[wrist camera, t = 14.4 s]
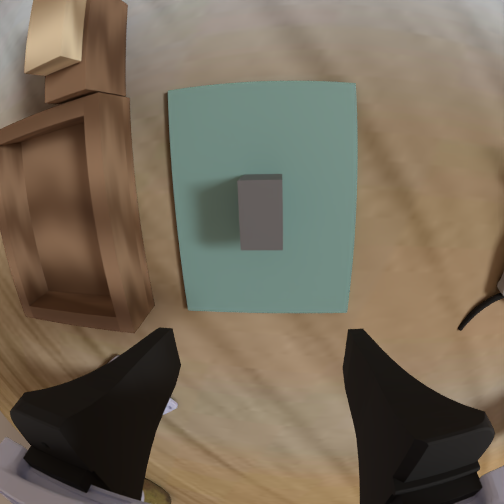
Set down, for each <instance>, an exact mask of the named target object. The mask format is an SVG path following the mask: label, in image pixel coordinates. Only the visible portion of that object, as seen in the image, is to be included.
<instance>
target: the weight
mask: <svg viewBox="0 0 504 504" xmlns="http://www.w3.org/2000/svg"><path fill="white" fill-rule="evenodd" d="M143 492H144V502H147V503H151V504H171V498H170V496H169V494H168V493H166V491H165V490H163V489H162V488H161V487H159V486H157V485H156V484H154V483H153V482H151V481H149V480H147V479H144V484H143Z"/></svg>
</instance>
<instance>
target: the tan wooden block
mask: <svg viewBox="0 0 504 504" xmlns="http://www.w3.org/2000/svg"><path fill="white" fill-rule="evenodd" d="M85 8H86V0H33V5H32V11H31V16H30V22H29V29H28V37H27V45H26V55H25V68H24V73H25V74H34V75H42V76H46V75H49V74H51V73H53V72H56V71H58V70H60V69H63V68H65V67H68V66H70V65H73V64H75V63H78V62H81V57H82V39H83V27H84V17H85Z"/></svg>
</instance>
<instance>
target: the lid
mask: <svg viewBox="0 0 504 504" xmlns="http://www.w3.org/2000/svg"><path fill="white" fill-rule="evenodd" d="M168 111H169V133H170V150H171V164H172V177H173V189H174V201H175V211H176V221H177V230H178V239H179V247H180V256H181V263H182V271H183V279H184V286H185V293H186V299H187V306H188V310H192V311H215V312H247V313H346V312H347V309H348V300H349V292H350V282H351V272H352V262H353V250H354V236H355V220H356V199H357V103H356V83H344V82H326V81H260V82H241V83H228V84H216V85H207V86H198V87H190V88H183V89H176V90H169V91H168Z"/></svg>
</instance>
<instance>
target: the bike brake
mask: <svg viewBox="0 0 504 504" xmlns="http://www.w3.org/2000/svg"><path fill="white" fill-rule="evenodd" d="M497 288H498V289H499V291H500V292H501V293H499V294H496V295H494V296H492V297H490V298H489V299H487V300H486V301H484V302H483V303H481V304H480V305H479V306H477V307H476V308H475V309H474V310H472V311H471V312H470V313H469V314H468V315H467V317H466V318H465V319H464V320H463V321H462V323H461V324H460V326H459V327H458V329H459V330H460V331H461V330H462V329H463V328H464V327H465V326H466V325H467V323H468V322H469V321H470V320H471V319H472V318H473V317H474V316H475V315H476V314H478V313H479V312H480V311H481V310H483V309H484V308H486V307H487V306H489V305H490V304H492V303H493V302H495V301H497V300H500V299H502V298H504V273H503V275H502V277H501V279H500V281H499V282H498V284H497Z"/></svg>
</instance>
